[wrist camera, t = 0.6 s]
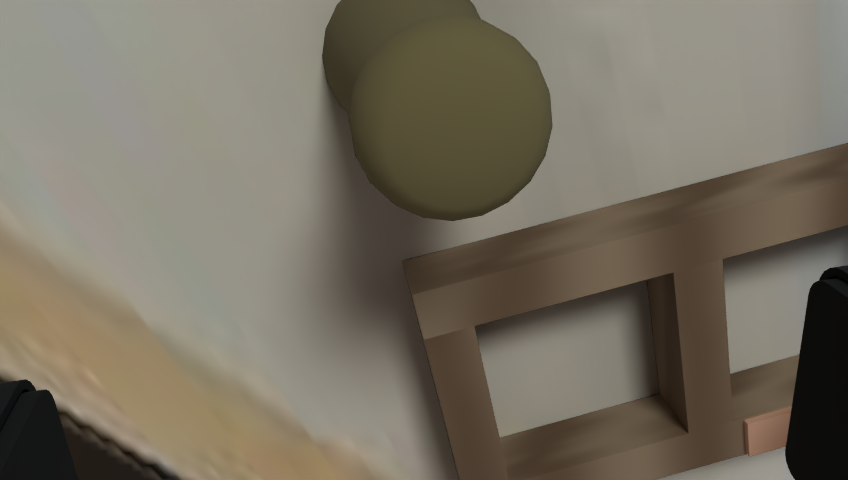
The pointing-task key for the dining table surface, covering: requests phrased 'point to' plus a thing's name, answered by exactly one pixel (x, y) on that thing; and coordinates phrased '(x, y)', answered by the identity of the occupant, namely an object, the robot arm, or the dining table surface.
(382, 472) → the dining table surface
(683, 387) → the caddy
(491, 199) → the olive tall rounded piece
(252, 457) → the dining table surface
